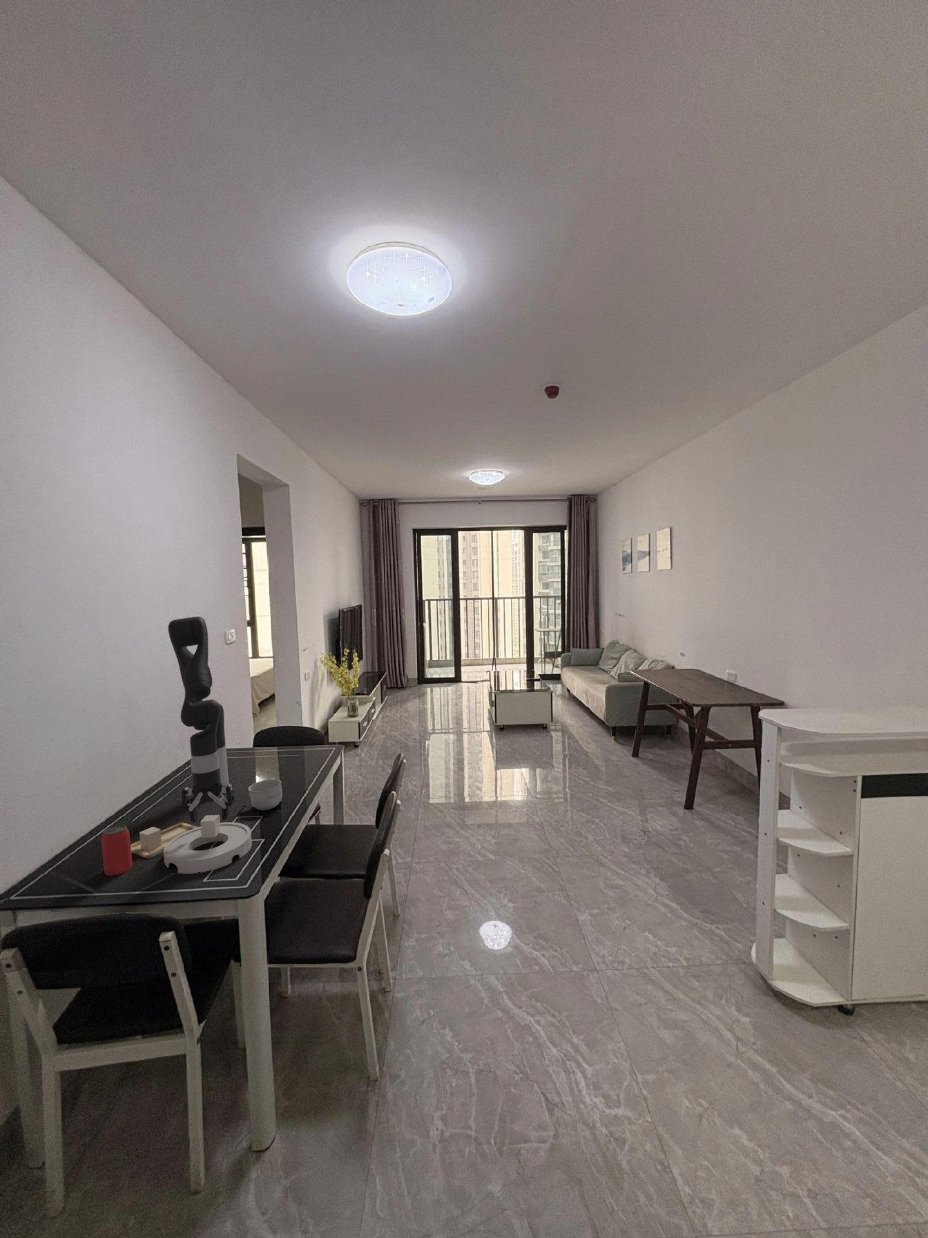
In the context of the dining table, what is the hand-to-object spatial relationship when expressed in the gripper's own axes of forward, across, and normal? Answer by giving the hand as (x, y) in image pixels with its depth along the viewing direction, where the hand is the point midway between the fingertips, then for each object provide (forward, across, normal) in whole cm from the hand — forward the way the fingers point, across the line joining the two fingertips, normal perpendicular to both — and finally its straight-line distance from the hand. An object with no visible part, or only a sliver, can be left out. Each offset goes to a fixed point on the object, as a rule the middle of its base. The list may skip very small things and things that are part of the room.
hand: (210, 820), depth 164 cm
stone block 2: (+4, 0, 0) cm, 4 cm away
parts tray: (+8, -15, +4) cm, 18 cm away
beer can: (+8, -21, -11) cm, 25 cm away
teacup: (+8, +10, +28) cm, 30 cm away
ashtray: (+8, +1, -4) cm, 9 cm away
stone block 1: (+7, -18, +1) cm, 19 cm away
